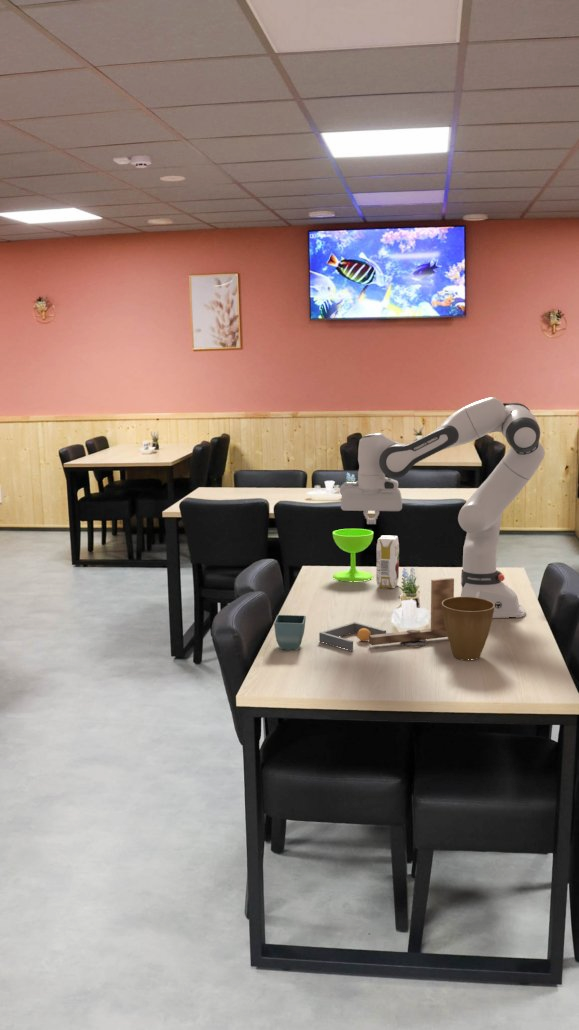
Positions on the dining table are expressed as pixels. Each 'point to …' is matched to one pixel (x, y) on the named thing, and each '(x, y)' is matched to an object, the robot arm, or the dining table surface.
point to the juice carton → (387, 561)
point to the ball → (363, 634)
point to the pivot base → (415, 643)
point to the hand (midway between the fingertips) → (371, 523)
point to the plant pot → (467, 625)
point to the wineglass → (353, 551)
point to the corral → (333, 634)
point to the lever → (439, 593)
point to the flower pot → (289, 630)
